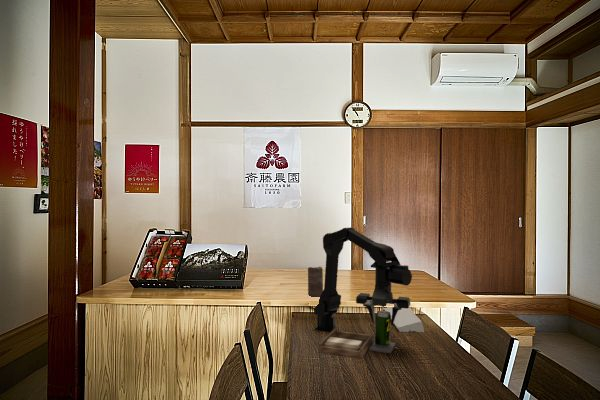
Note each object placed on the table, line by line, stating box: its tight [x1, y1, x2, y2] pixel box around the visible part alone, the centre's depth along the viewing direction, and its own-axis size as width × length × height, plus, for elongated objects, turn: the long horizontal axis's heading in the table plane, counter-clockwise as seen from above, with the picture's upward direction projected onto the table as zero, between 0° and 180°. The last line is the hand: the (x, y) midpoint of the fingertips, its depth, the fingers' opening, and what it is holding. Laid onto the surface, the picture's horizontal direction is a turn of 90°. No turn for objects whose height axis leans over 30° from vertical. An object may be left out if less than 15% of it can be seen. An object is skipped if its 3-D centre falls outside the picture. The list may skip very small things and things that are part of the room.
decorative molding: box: [383, 307, 425, 333], centre depth 198 cm, size 34×5×10 cm
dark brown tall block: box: [307, 266, 324, 297], centre depth 217 cm, size 8×7×20 cm
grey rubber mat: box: [368, 340, 396, 354], centre depth 162 cm, size 8×10×1 cm
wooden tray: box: [318, 327, 375, 359], centre depth 163 cm, size 15×20×3 cm
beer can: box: [374, 310, 392, 348], centre depth 162 cm, size 5×5×12 cm
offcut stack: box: [325, 337, 363, 351], centre depth 158 cm, size 13×5×4 cm, turn 69°
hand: (382, 324), depth 162 cm, fingers open, 6 cm apart
